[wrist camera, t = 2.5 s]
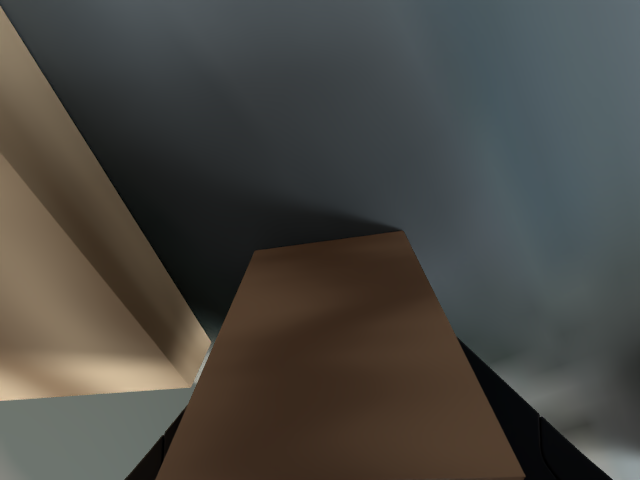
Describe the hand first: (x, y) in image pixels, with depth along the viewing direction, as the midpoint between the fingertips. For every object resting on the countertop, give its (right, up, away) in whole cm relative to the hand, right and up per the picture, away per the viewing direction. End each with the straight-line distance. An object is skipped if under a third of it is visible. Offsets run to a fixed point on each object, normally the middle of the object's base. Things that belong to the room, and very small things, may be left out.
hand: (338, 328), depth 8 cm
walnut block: (0, +1, +1) cm, 2 cm away
